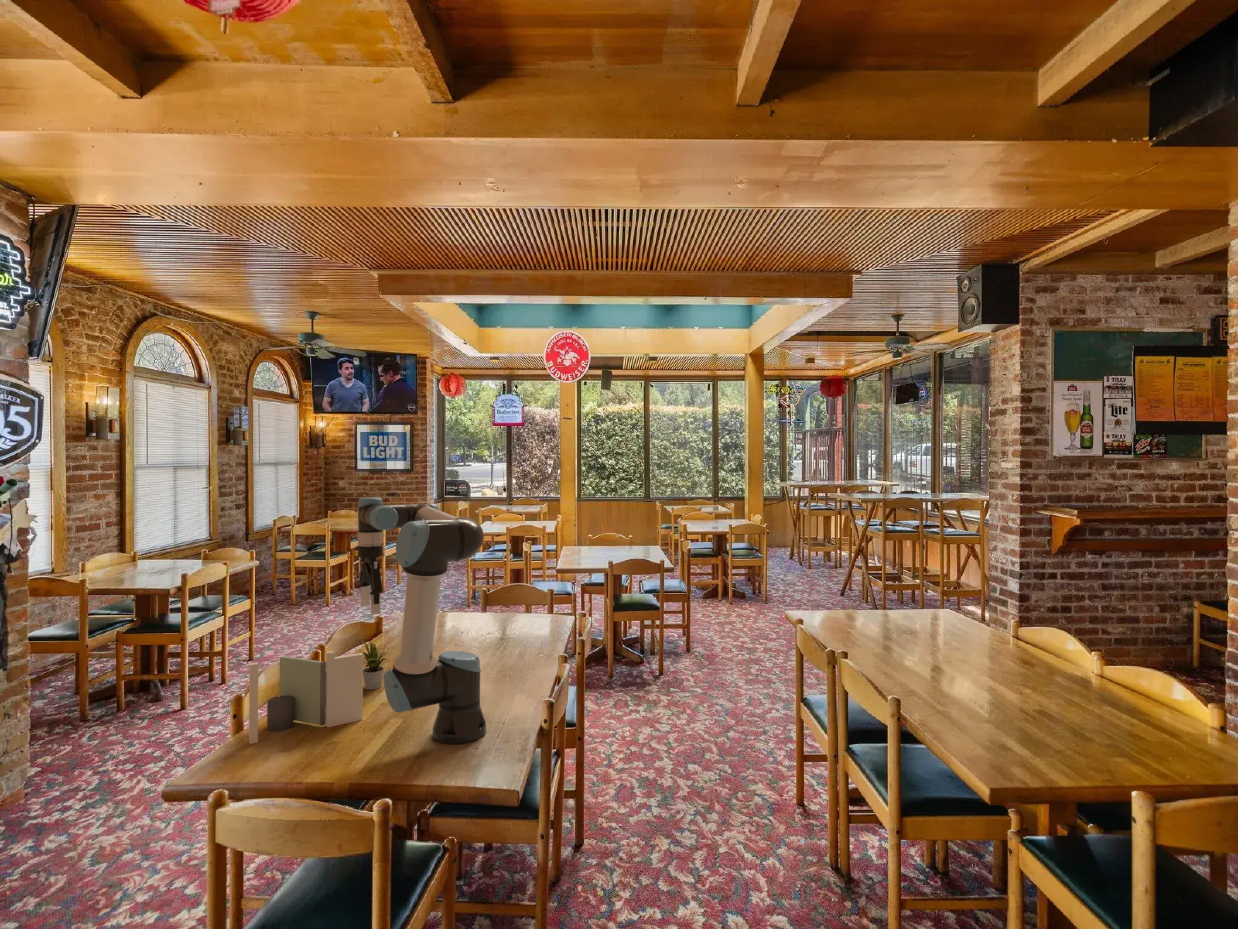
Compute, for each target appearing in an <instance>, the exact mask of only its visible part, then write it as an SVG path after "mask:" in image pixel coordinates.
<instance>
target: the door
mask: <svg viewBox="0 0 1238 929" xmlns="http://www.w3.org/2000/svg"><path fill="white" fill-rule="evenodd" d="M284 695H289V696H293V697H294V721H297V722H302V723H306V724H313V725H316V726H326V661H321V660H315V659H306V658H299V657H294V656H286V655H282V656H279V696H284Z"/></svg>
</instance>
